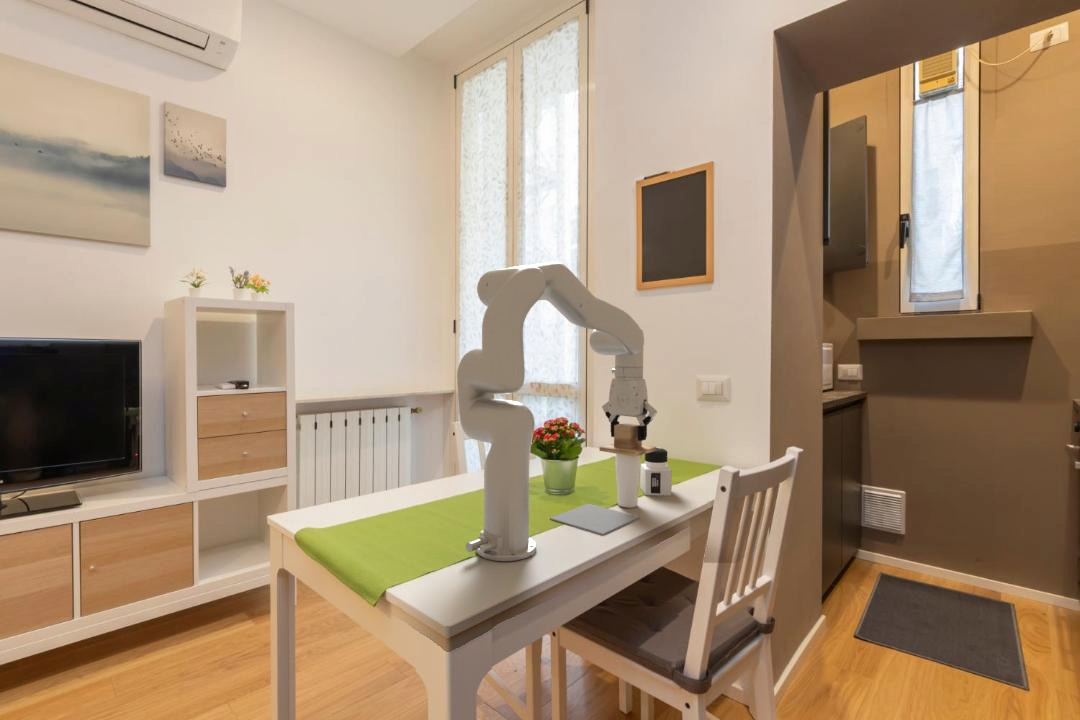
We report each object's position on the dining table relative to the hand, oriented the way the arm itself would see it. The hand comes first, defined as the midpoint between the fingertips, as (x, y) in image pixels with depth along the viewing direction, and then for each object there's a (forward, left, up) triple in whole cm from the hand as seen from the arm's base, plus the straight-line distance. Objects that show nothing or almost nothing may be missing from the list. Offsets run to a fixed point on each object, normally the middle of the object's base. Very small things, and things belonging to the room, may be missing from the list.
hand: (628, 437), depth 140 cm
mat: (-15, 0, -18) cm, 24 cm away
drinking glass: (0, 0, -19) cm, 19 cm away
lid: (0, 0, -3) cm, 3 cm away
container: (+17, +1, -19) cm, 25 cm away
